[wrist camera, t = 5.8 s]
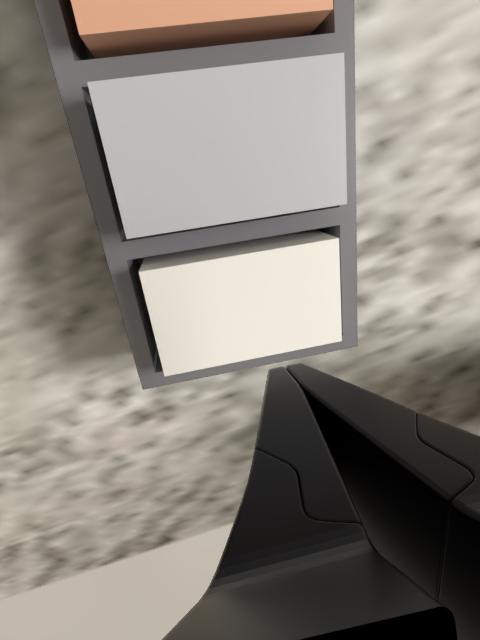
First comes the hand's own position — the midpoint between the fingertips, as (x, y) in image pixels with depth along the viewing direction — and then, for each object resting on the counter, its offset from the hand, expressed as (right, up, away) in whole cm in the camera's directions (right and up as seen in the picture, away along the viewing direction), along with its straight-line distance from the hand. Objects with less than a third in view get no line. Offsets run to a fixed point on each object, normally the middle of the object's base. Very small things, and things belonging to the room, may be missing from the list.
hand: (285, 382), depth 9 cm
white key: (-1, +3, +8) cm, 9 cm away
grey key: (-2, +8, +5) cm, 10 cm away
